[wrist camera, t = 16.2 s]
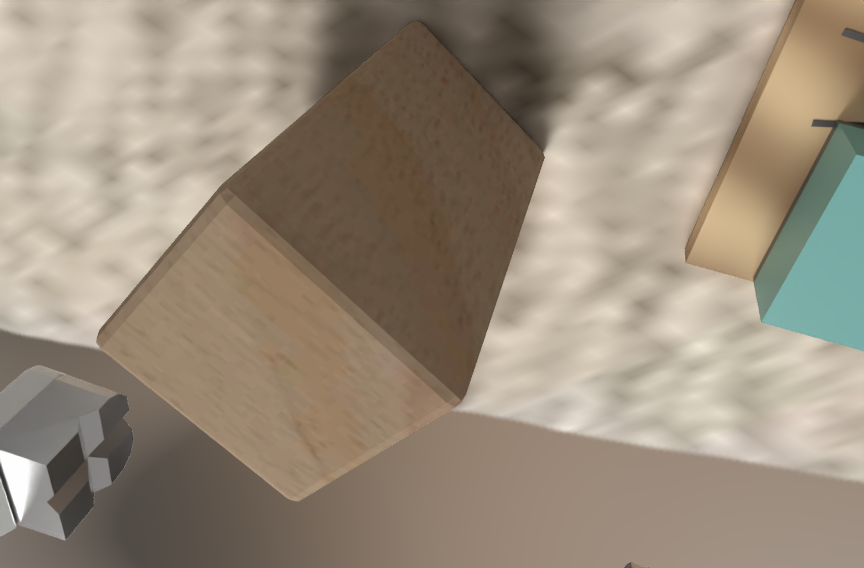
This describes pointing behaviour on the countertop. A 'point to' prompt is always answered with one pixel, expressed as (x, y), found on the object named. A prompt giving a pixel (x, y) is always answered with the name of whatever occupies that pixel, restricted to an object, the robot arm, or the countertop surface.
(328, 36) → the countertop surface
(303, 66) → the countertop surface
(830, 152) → the block
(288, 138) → the wooden block
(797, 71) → the oak board
